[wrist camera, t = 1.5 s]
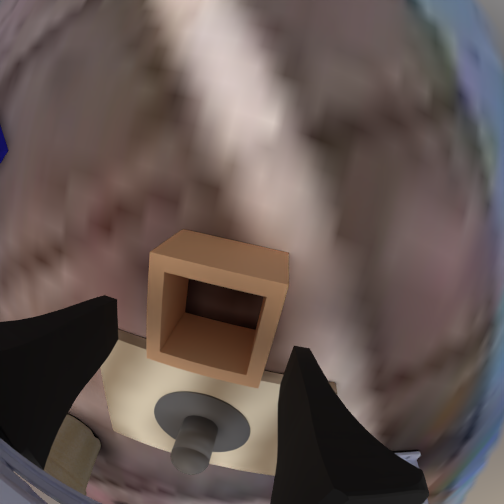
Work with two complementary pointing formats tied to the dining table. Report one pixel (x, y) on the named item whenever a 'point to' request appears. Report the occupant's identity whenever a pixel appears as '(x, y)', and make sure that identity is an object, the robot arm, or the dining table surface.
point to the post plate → (192, 411)
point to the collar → (207, 330)
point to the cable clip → (2, 146)
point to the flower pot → (73, 454)
